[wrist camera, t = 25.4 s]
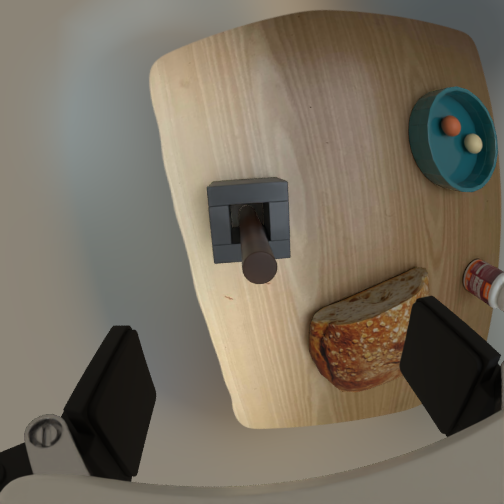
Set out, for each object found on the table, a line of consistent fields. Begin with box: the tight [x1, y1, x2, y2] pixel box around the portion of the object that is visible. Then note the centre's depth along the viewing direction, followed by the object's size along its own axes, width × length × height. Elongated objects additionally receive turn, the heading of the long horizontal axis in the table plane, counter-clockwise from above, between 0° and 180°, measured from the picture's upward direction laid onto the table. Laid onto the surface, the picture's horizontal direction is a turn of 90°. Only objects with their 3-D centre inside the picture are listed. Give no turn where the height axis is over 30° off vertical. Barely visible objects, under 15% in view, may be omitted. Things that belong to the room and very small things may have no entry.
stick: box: [239, 205, 277, 284], centre depth 28 cm, size 2×2×20 cm
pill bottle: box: [463, 259, 504, 312], centre depth 38 cm, size 6×6×11 cm
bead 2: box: [464, 133, 482, 154], centre depth 34 cm, size 3×3×3 cm
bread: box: [309, 267, 429, 392], centre depth 40 cm, size 20×18×10 cm
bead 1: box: [441, 115, 461, 137], centre depth 33 cm, size 3×3×3 cm
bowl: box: [409, 87, 498, 192], centre depth 34 cm, size 15×15×5 cm
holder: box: [207, 177, 290, 264], centre depth 34 cm, size 8×8×8 cm
